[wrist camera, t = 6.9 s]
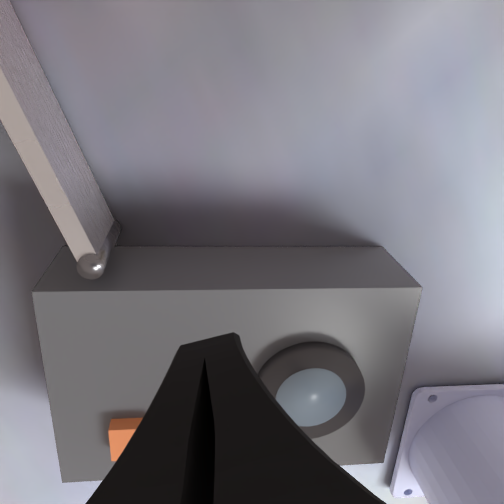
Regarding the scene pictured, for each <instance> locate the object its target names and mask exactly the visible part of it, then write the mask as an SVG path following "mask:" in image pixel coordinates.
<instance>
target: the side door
mask: <svg viewBox="0 0 504 504" xmlns="http://www.w3.org/2000/svg"><path fill="white" fill-rule="evenodd" d="M0 120H1V122H2V124H3V125H4V127H5V129H6V131H7V133H8V135H9V136H10V138H11V140H12V142H13V144H14V146H15V148H16V149H17V151H18V153H19V155H20V157H21V159H22V161H23V162H24V164H25V166H26V168H27V170H28V172H29V174H30V175H31V177H32V179H33V181H34V183H35V185H36V187H37V188H38V190H39V192H40V194H41V196H42V198H43V200H44V201H45V203H46V205H47V207H48V209H49V211H50V213H51V214H52V216H53V218H54V220H55V222H56V224H57V226H58V227H59V229H60V231H61V233H62V235H63V237H64V239H65V240H66V242H67V244H68V246H69V248H70V250H71V252H72V253H73V255H74V257H75V259H76V261H77V265H76V268H77V271H78V273H79V274H80V275H81V276H82V277H84V278H86V279H91V280H92V279H97V278H99V277H100V276H101V275H102V274H103V272H104V270H105V267H106V265H107V263H108V260H109V258H110V256H111V253H112V251H113V248H114V246H115V244H116V241H117V239H118V236H119V234H120V232H121V226H120V224H119V222H118V221H117V220H115V219H114V218H113V216H112V214H111V212H110V210H109V208H108V206H107V204H106V202H105V199H104V197H103V195H102V193H101V191H100V189H99V187H98V185H97V183H96V181H95V179H94V176H93V174H92V172H91V170H90V168H89V166H88V164H87V162H86V160H85V158H84V155H83V153H82V151H81V149H80V147H79V145H78V143H77V141H76V139H75V137H74V135H73V132H72V130H71V128H70V126H69V124H68V122H67V120H66V118H65V116H64V114H63V112H62V109H61V107H60V105H59V103H58V101H57V99H56V97H55V95H54V93H53V91H52V88H51V86H50V84H49V82H48V80H47V78H46V76H45V74H44V72H43V70H42V68H41V65H40V63H39V61H38V59H37V57H36V55H35V53H34V51H33V49H32V47H31V45H30V42H29V40H28V38H27V36H26V34H25V32H24V30H23V28H22V26H21V24H20V21H19V19H18V17H17V15H16V13H15V11H14V9H13V7H12V5H11V3H10V1H9V0H0Z"/></svg>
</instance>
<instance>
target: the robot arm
mask: <svg viewBox="0 0 504 504" xmlns="http://www.w3.org/2000/svg"><path fill="white" fill-rule="evenodd" d="M431 395H433V396H431ZM430 396H431V397H430ZM390 492H391V494H392V496H393V497H395V498H408V497H422V496H425V498H426V500H427V502H428V503H429V504H504V384H489V385H464V386H439V387H421V388H418V389H416V390H415V391H414V392H413V394H412V397H411V401H410V405H409V409H408V413H407V418H406V422H405V426H404V430H403V435H402V439H401V443H400V447H399V451H398V456H397V460H396V464H395V468H394V472H393V477H392V481H391V485H390ZM86 504H386V503H385V502H384V501H382V500H381V499H379V498H378V497H377V496H375V495H374V494H373V493H372V492H370V491H369V490H368V489H367V488H366V487H364V486H363V485H362V484H361V483H360V482H358V481H357V480H356V479H355V478H354V477H352V476H351V475H350V474H349V473H348V472H346V471H345V470H344V469H343V468H342V467H340V466H339V465H338V464H337V463H336V462H334V461H333V460H332V459H331V458H330V457H329V456H328V455H327V454H326V453H325V452H324V451H323V450H322V449H321V448H319V447H318V446H317V445H316V444H315V443H314V442H313V441H312V440H311V439H310V438H309V437H308V436H307V435H306V434H305V433H304V432H303V430H302V429H301V428H300V427H299V426H298V425H297V424H296V423H295V422H294V421H293V420H292V418H291V417H290V416H289V415H288V414H287V413H286V412H285V410H284V409H283V408H282V407H281V405H280V404H279V403H278V402H277V401H276V399H275V398H274V397H273V395H272V394H271V393H270V391H269V390H268V389H267V387H266V386H265V384H264V383H263V382H262V380H261V379H260V377H259V376H258V374H257V373H256V371H255V370H254V368H253V366H252V365H251V363H250V361H249V359H248V358H247V356H246V354H245V352H244V349H243V347H242V343H241V339H240V336H239V335H238V334H236V333H234V332H232V333H228V334H224V335H220V336H216V337H212V338H208V339H204V340H200V341H196V342H192V343H188V344H184V345H180V347H179V348H178V350H177V352H176V354H175V356H174V358H173V360H172V363H171V365H170V367H169V369H168V371H167V373H166V375H165V377H164V379H163V381H162V383H161V385H160V387H159V389H158V391H157V393H156V395H155V397H154V398H153V400H152V402H151V404H150V406H149V408H148V410H147V412H146V413H145V415H144V417H143V419H142V420H141V422H140V424H139V425H138V427H137V429H136V430H135V432H134V434H133V435H132V437H131V439H130V440H129V442H128V443H127V445H126V447H125V448H124V450H123V452H122V453H121V455H120V456H119V458H118V459H117V461H116V462H115V464H114V465H113V467H112V468H111V470H110V471H109V472H108V474H107V475H106V477H105V478H104V480H103V481H102V482H101V484H100V485H99V486H98V488H97V489H96V491H95V492H94V493H93V495H92V496H91V497H90V499H89V500H88V501H87V503H86Z"/></svg>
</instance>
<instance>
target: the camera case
mask: <svg viewBox="0 0 504 504" xmlns="http://www.w3.org/2000/svg"><path fill="white" fill-rule="evenodd" d="M76 265H77V261H76V259H75V257H74V255H73V253H72V252H71V250H70V248H69V246H63V247H62V248H61V250H60V251H59V253H58V254H57V256H56V257H55V258H54V260H53V261H52V263H51V264H50V266H49V267H48V269H47V270H46V272H45V273H44V274H43V276H42V277H41V279H40V280H39V282H38V283H37V285H36V286H35V288H34V289H33V290H32V298H33V304H34V311H35V317H36V323H37V329H38V335H39V342H40V348H41V354H42V360H43V366H44V372H45V379H46V385H47V391H48V397H49V403H50V410H51V416H52V422H53V428H54V434H55V440H56V447H57V453H58V459H59V465H60V471H61V478H62V483H66V482H82V481H98V480H104V478H105V477H106V475H107V474H108V472H109V471H110V470H111V468H112V467H113V465H114V464H115V462H116V461H117V459H118V458H119V456H120V455H121V453H122V452H123V450H124V448H125V447H126V445H127V443H128V442H129V440H130V439H131V437H132V435H133V434H134V432H135V430H136V429H137V427H138V425H139V424H140V422H141V420H142V419H143V417H144V415H145V413H146V412H147V410H148V408H149V406H150V404H151V402H152V400H153V398H154V397H155V395H156V393H157V391H158V389H159V387H160V385H161V383H162V381H163V379H164V377H165V375H166V373H167V371H168V369H169V367H170V365H171V363H172V360H173V358H174V356H175V354H176V352H177V350H178V348H179V347H180V345H184V344H188V343H192V342H196V341H200V340H204V339H208V338H212V337H216V336H220V335H224V334H228V333H232V332H234V333H236V334H238V335H239V336H240V339H241V343H242V347H243V349H244V352H245V354H246V356H247V358H248V359H249V361H250V363H251V365H252V366H253V368H254V370H255V371H256V373H257V374H258V376H259V377H260V379H261V380H262V382H263V383H264V384H265V386H266V387H267V389H268V390H269V391H270V393H271V394H272V395H273V397H274V398H275V399H276V401H277V402H278V403H279V404H280V405H281V407H282V408H283V409H284V410H285V412H286V413H287V414H288V415H289V416H290V417H291V418H292V420H293V421H294V422H295V423H296V424H297V425H298V426H299V427H300V428H301V429H302V430H303V432H304V433H305V434H306V435H307V436H308V437H309V438H310V439H311V440H312V441H313V442H314V443H315V444H316V445H317V446H318V447H319V448H321V449H322V450H323V451H324V452H325V453H326V454H327V455H328V456H329V457H330V458H331V459H332V460H333V461H334V462H336V463H337V464H338V465H356V464H372V463H383V462H384V458H385V453H386V449H387V445H388V440H389V436H390V431H391V427H392V422H393V418H394V413H395V409H396V404H397V400H398V395H399V391H400V386H401V382H402V377H403V373H404V368H405V364H406V359H407V355H408V350H409V346H410V341H411V337H412V332H413V328H414V323H415V319H416V314H417V310H418V305H419V301H420V296H421V292H422V287H421V286H420V284H419V283H418V282H417V281H416V280H415V279H414V278H413V277H412V276H411V275H410V274H409V273H408V272H407V271H406V270H405V269H404V268H403V267H402V266H401V265H400V264H399V263H398V262H397V261H396V260H395V259H394V258H393V257H392V256H391V255H390V254H389V253H388V252H387V251H386V250H385V249H384V248H383V247H259V246H114V248H113V251H112V253H111V256H110V258H109V260H108V263H107V265H106V267H105V270H104V272H103V274H102V275H101V276H100V277H99V278H97V279H92V280H91V279H86V278H84V277H82V276H81V275H80V274H79V273H78V271H77V268H76Z"/></svg>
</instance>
